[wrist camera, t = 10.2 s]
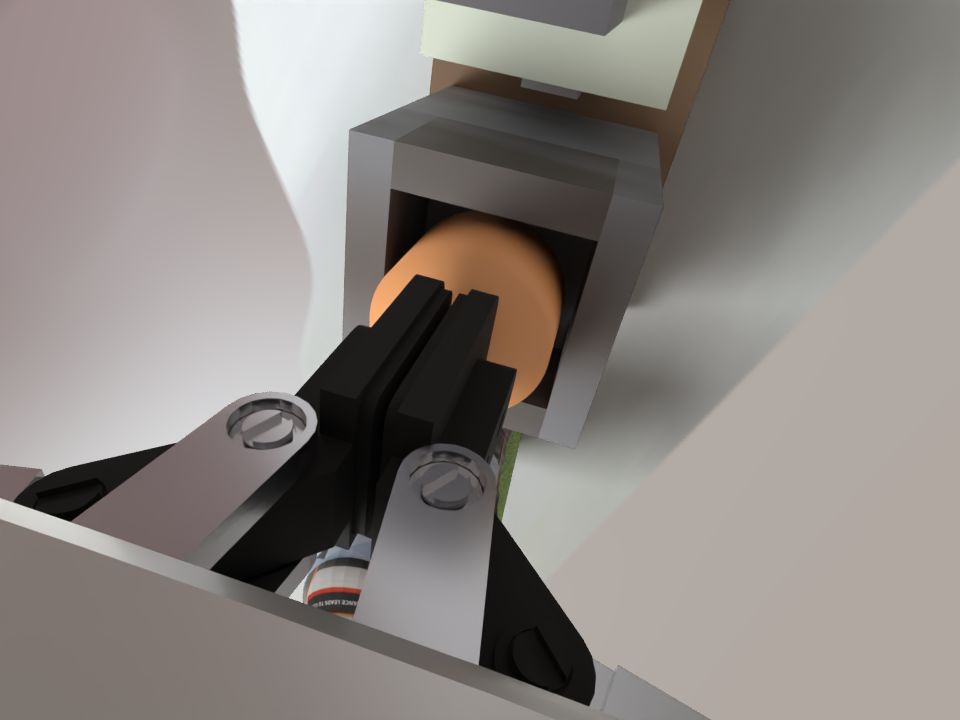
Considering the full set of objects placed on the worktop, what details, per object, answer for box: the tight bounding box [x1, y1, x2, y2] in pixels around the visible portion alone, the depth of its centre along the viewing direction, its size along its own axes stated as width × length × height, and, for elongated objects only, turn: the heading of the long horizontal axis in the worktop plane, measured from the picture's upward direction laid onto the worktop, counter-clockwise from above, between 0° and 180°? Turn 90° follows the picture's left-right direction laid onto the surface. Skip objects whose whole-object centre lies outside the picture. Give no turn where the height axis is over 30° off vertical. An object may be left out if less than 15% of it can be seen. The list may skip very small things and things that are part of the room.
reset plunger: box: [370, 211, 565, 408], centre depth 13 cm, size 4×4×2 cm
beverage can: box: [303, 428, 521, 620], centre depth 22 cm, size 6×7×12 cm
